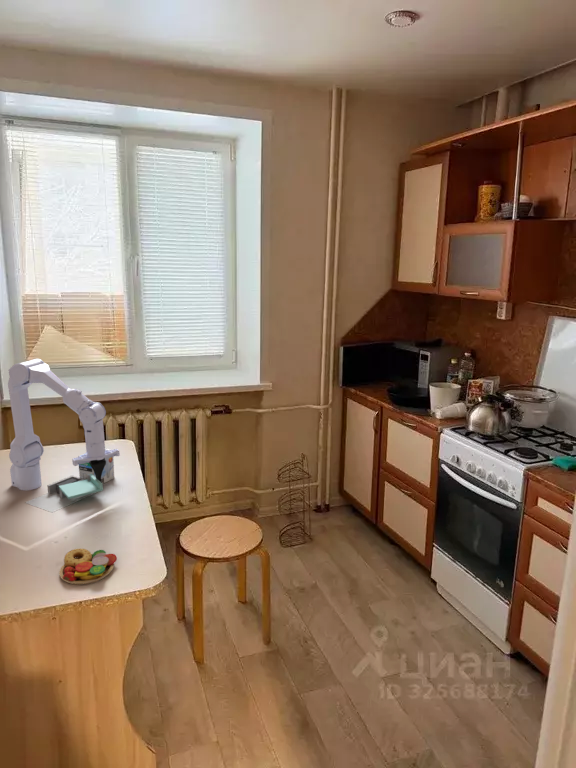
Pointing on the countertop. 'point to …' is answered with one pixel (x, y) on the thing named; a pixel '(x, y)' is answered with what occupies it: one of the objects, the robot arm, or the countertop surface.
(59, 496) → the board
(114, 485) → the countertop surface
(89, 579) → the toy food set
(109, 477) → the light bulb box
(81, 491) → the cover
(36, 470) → the robot arm
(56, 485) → the grey rectangular prism
